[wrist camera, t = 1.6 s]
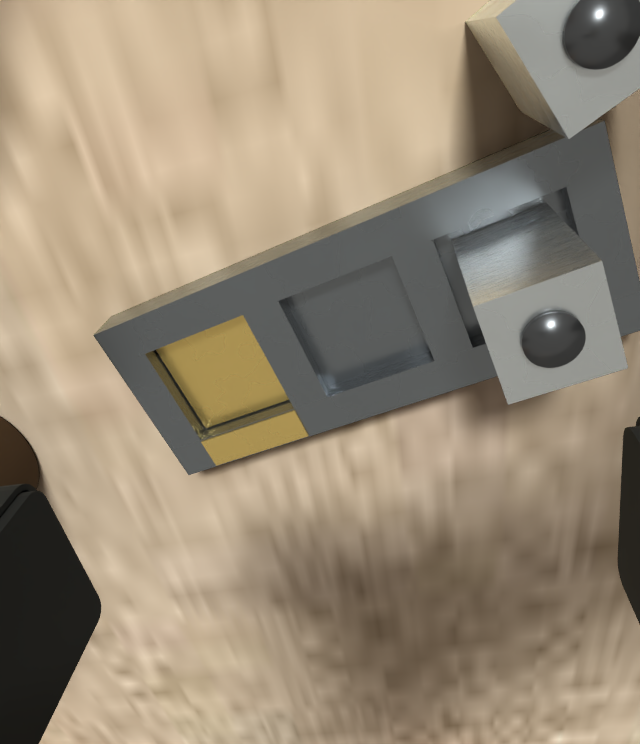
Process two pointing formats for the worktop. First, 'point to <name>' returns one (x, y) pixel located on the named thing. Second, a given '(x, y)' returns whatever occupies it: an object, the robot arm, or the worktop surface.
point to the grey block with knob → (540, 303)
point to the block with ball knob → (562, 56)
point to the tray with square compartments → (357, 307)
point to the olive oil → (16, 458)
